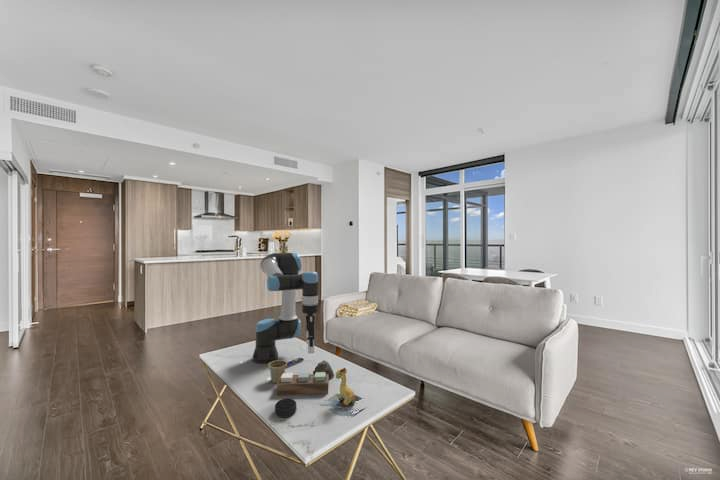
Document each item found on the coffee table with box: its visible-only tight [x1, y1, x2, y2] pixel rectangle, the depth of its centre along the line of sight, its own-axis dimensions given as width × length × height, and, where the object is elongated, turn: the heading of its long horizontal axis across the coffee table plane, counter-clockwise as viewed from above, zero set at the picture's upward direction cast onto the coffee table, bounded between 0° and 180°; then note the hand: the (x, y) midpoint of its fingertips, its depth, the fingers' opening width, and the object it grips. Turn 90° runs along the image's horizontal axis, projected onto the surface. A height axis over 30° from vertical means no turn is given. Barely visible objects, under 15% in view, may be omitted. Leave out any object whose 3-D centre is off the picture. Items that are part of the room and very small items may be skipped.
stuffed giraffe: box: [319, 367, 364, 418], centre depth 137 cm, size 16×18×16 cm
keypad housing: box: [276, 373, 330, 396], centre depth 151 cm, size 10×24×5 cm, turn 94°
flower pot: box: [267, 359, 288, 384], centre depth 160 cm, size 9×9×9 cm
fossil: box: [312, 359, 335, 380], centre depth 165 cm, size 11×9×10 cm
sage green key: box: [315, 372, 326, 381], centre depth 151 cm, size 5×5×2 cm
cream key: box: [281, 372, 294, 382], centre depth 150 cm, size 5×5×2 cm
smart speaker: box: [274, 398, 297, 418], centre depth 131 cm, size 9×9×4 cm
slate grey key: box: [298, 372, 310, 382], centre depth 151 cm, size 5×5×2 cm
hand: (310, 348), depth 148 cm, fingers open, 13 cm apart
